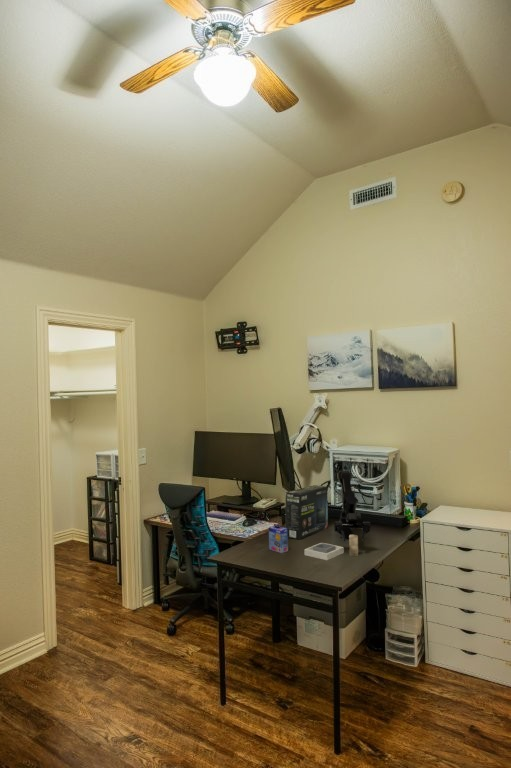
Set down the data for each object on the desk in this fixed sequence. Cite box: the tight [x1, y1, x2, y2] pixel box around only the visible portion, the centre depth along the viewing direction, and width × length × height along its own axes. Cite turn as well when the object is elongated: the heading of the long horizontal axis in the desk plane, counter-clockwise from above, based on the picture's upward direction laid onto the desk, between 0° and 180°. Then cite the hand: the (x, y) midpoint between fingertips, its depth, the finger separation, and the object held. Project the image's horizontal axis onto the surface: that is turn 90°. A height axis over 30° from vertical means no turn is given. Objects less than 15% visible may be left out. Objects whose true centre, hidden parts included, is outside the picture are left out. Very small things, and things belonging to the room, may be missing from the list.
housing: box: [304, 542, 345, 561], centre depth 252 cm, size 14×16×4 cm
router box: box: [284, 484, 329, 540], centre depth 297 cm, size 36×11×27 cm, turn 144°
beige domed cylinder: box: [348, 534, 359, 557], centre depth 250 cm, size 4×4×10 cm
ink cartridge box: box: [268, 523, 289, 554], centre depth 260 cm, size 10×6×14 cm, turn 45°
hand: (353, 541), depth 249 cm, fingers open, 9 cm apart
